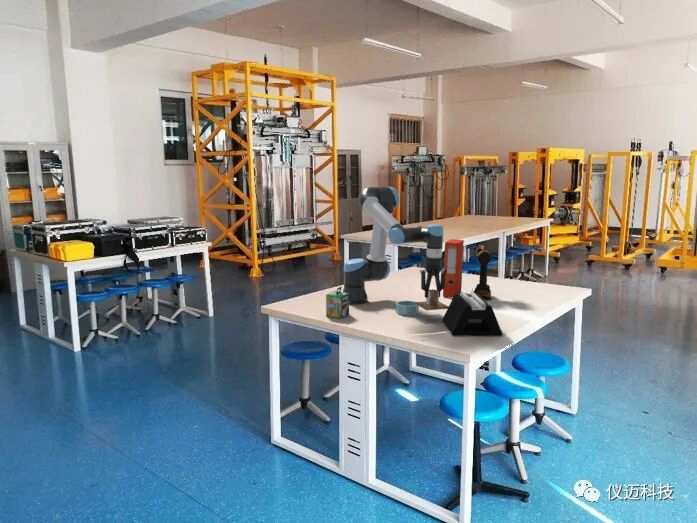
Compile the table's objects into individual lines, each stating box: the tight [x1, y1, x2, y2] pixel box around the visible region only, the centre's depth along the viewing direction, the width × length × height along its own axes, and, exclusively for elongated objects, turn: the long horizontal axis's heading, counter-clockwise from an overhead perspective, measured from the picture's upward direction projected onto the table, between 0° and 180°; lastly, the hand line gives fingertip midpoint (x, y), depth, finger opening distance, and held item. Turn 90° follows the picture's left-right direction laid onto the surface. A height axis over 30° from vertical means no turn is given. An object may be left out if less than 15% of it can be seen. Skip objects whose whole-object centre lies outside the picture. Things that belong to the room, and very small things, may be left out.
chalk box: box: [325, 286, 350, 319], centre depth 285 cm, size 9×9×15 cm
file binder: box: [442, 238, 465, 298], centre depth 332 cm, size 8×17×32 cm, turn 159°
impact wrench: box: [472, 249, 492, 300], centre depth 328 cm, size 14×21×28 cm, turn 165°
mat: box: [411, 313, 445, 325], centre depth 278 cm, size 15×15×1 cm
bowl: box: [395, 300, 420, 316], centre depth 289 cm, size 11×11×6 cm
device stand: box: [442, 290, 503, 337], centre depth 260 cm, size 22×22×15 cm
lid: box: [415, 288, 449, 311], centre depth 276 cm, size 12×12×8 cm
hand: (432, 303), depth 277 cm, fingers closed on lid, 4 cm apart
